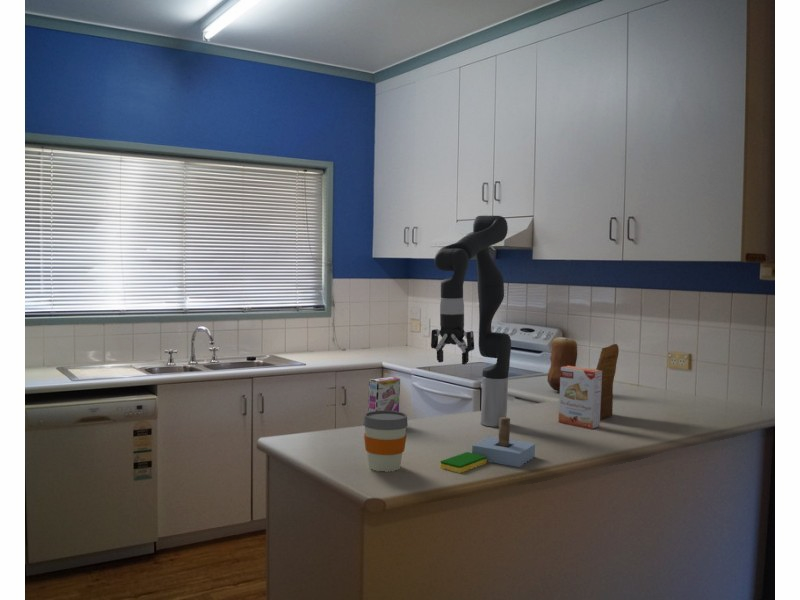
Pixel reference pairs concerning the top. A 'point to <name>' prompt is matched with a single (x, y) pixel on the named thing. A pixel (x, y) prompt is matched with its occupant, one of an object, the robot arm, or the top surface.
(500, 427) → the walnut peg
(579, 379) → the cracker box
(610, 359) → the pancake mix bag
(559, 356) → the butternut squash
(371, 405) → the candy bar box
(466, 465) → the dish sponge
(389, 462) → the reusable coffee cup
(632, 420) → the top surface
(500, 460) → the hole block
